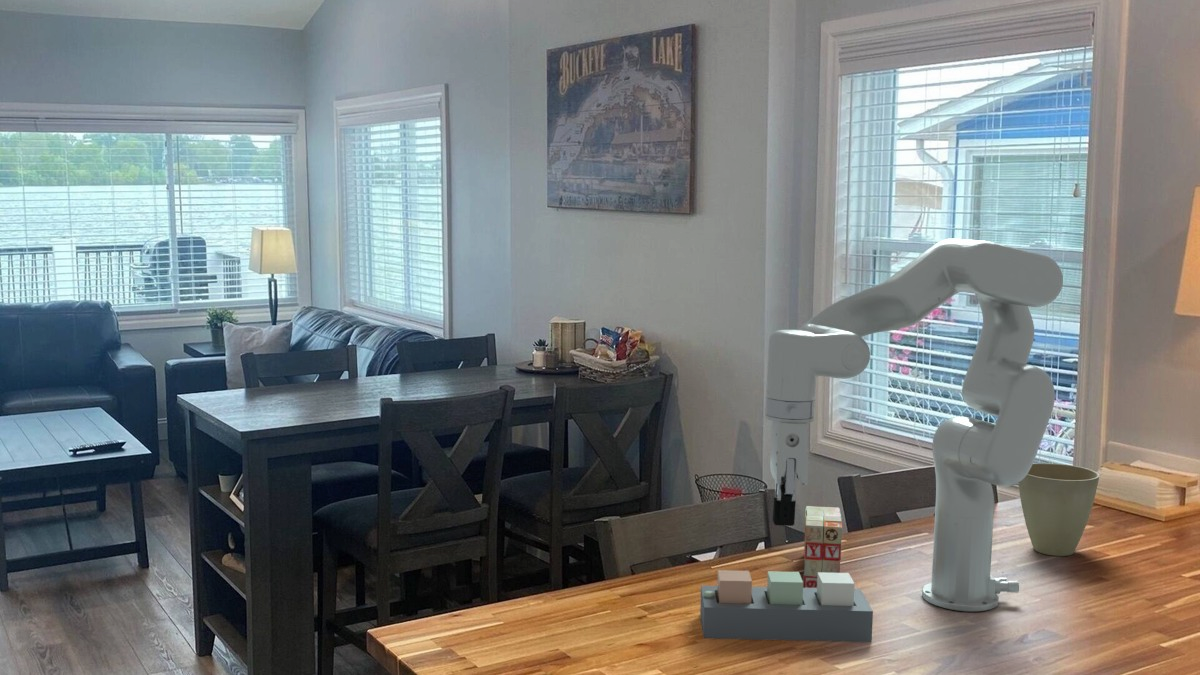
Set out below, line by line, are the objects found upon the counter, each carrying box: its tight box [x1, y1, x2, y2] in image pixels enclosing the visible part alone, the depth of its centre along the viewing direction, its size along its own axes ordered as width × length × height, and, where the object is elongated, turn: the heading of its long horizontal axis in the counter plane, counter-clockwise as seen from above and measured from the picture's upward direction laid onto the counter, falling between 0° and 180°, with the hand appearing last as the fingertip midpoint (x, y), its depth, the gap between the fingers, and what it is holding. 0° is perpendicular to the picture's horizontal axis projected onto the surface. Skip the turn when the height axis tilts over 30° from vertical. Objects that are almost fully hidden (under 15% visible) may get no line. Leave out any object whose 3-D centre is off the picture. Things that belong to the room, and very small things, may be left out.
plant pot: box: [1017, 462, 1101, 557], centre depth 224 cm, size 15×15×16 cm
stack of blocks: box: [803, 505, 843, 588], centre depth 210 cm, size 21×6×12 cm, turn 170°
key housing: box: [699, 585, 874, 643], centre depth 183 cm, size 26×10×6 cm, turn 88°
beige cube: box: [716, 569, 753, 604], centre depth 183 cm, size 5×5×5 cm
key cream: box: [817, 572, 855, 606], centre depth 182 cm, size 5×5×5 cm
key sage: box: [766, 570, 804, 605], centre depth 183 cm, size 5×5×5 cm
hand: (783, 523), depth 181 cm, fingers closed
